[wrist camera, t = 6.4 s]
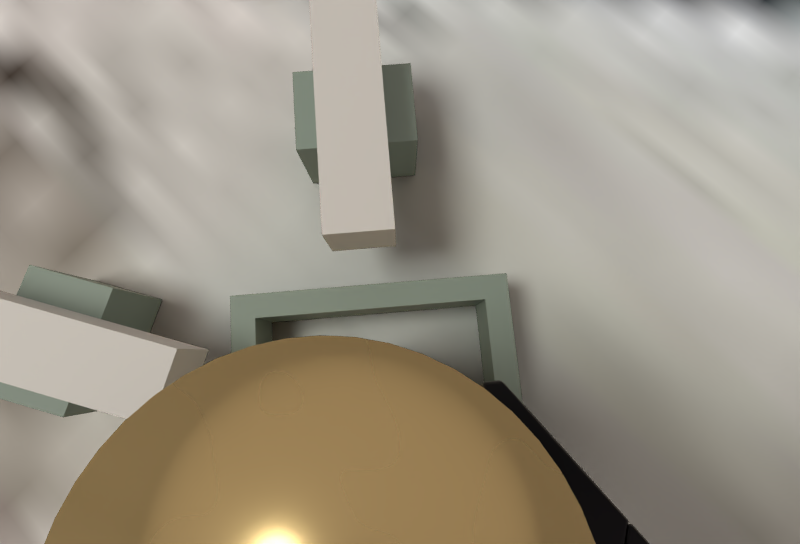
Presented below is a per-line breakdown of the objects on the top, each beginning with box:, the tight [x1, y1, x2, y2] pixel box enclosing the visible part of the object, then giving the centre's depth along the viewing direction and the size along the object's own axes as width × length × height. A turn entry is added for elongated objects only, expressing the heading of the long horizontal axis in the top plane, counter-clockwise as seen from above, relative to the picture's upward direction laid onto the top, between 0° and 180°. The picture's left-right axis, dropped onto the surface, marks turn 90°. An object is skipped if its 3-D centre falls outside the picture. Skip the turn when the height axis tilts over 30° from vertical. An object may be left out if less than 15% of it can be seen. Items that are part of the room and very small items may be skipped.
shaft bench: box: [0, 0, 523, 419], centre depth 15 cm, size 18×17×5 cm
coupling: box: [45, 335, 596, 544], centre depth 10 cm, size 5×5×12 cm
